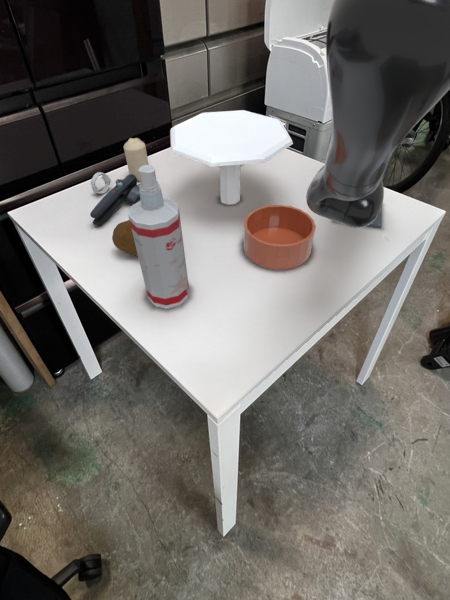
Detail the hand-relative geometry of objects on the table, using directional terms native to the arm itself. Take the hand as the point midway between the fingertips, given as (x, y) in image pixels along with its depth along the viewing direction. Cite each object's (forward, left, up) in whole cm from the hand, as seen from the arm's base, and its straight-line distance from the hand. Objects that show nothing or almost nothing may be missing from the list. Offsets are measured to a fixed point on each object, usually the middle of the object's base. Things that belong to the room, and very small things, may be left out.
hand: (385, 117), depth 74 cm
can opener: (+56, +16, -21) cm, 62 cm away
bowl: (+16, +21, -21) cm, 33 cm away
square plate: (0, +3, -21) cm, 21 cm away
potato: (+43, +29, -21) cm, 56 cm away
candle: (+58, 0, -21) cm, 62 cm away
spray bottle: (+33, +40, -21) cm, 56 cm away
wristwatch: (+64, +10, -21) cm, 68 cm away
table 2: (+31, +5, -21) cm, 38 cm away
